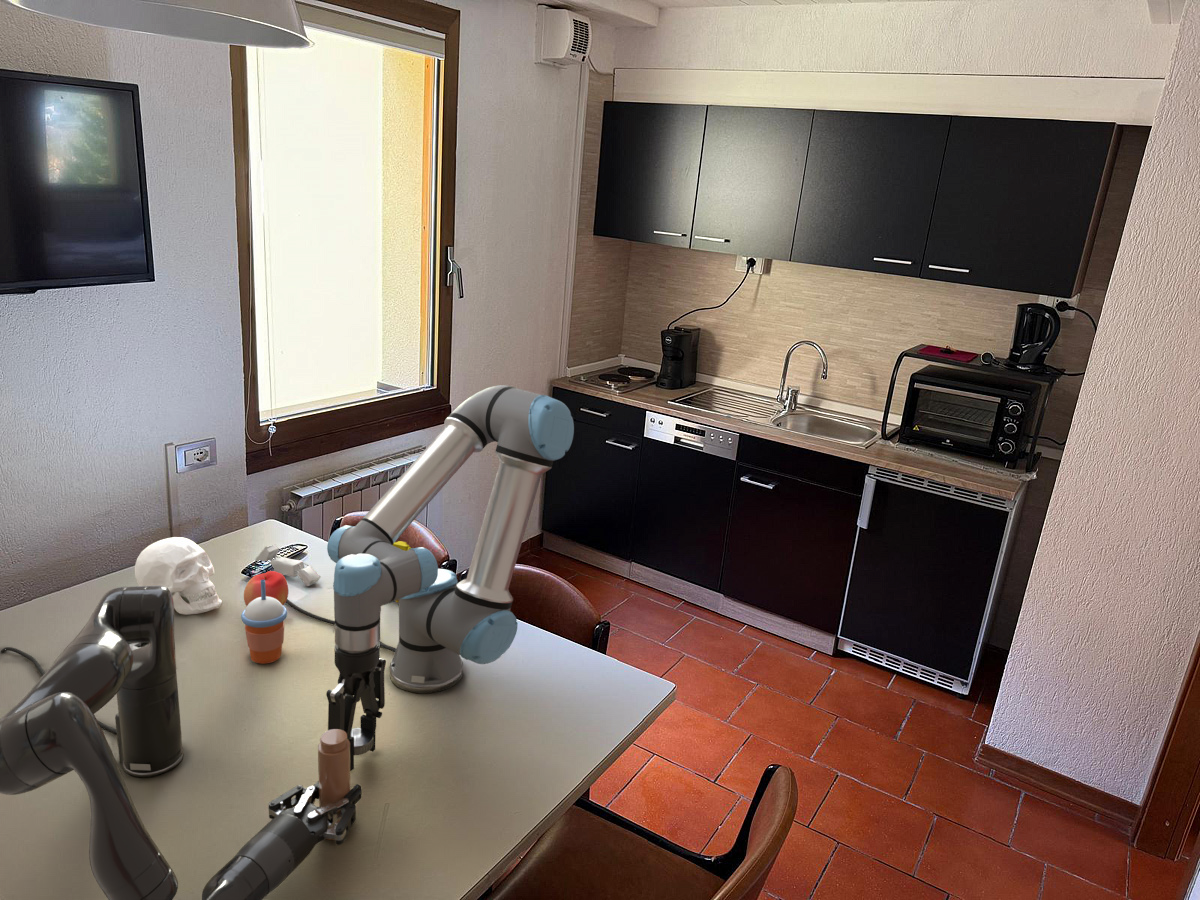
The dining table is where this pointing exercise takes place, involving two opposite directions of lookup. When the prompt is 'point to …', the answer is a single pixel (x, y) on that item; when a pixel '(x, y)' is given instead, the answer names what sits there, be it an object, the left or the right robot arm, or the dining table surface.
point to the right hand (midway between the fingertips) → (357, 757)
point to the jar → (333, 767)
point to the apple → (267, 587)
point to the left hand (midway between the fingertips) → (344, 784)
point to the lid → (362, 740)
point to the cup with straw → (264, 627)
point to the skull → (179, 573)
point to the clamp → (288, 565)
